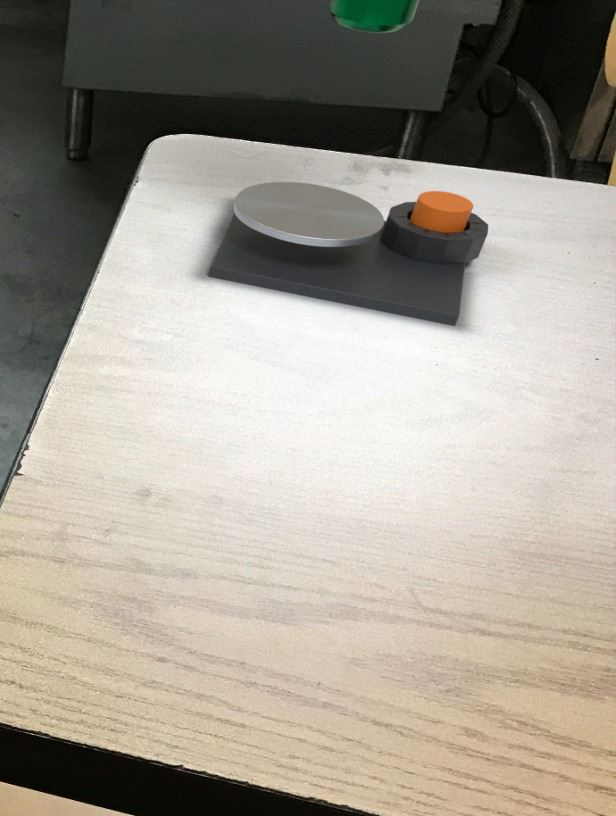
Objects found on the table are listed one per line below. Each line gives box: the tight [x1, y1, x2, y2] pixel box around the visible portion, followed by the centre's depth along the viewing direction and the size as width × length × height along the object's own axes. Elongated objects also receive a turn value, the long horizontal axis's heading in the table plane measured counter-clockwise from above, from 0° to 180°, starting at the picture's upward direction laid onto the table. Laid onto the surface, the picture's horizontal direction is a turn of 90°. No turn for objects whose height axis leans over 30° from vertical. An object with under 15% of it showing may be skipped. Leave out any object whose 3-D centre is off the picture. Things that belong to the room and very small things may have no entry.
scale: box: [207, 201, 489, 327], centre depth 96 cm, size 17×14×4 cm
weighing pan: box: [232, 181, 385, 247], centre depth 95 cm, size 10×10×1 cm
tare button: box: [410, 190, 474, 233], centre depth 95 cm, size 4×4×2 cm
